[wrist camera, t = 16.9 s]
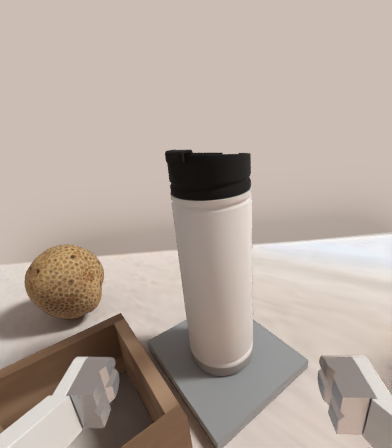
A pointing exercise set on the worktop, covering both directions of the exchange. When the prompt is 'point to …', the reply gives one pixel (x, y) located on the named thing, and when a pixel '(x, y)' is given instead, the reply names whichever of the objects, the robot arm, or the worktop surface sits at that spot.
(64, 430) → the robot arm
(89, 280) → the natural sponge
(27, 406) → the wooden box
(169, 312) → the worktop surface
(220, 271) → the travel mug
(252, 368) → the mat
